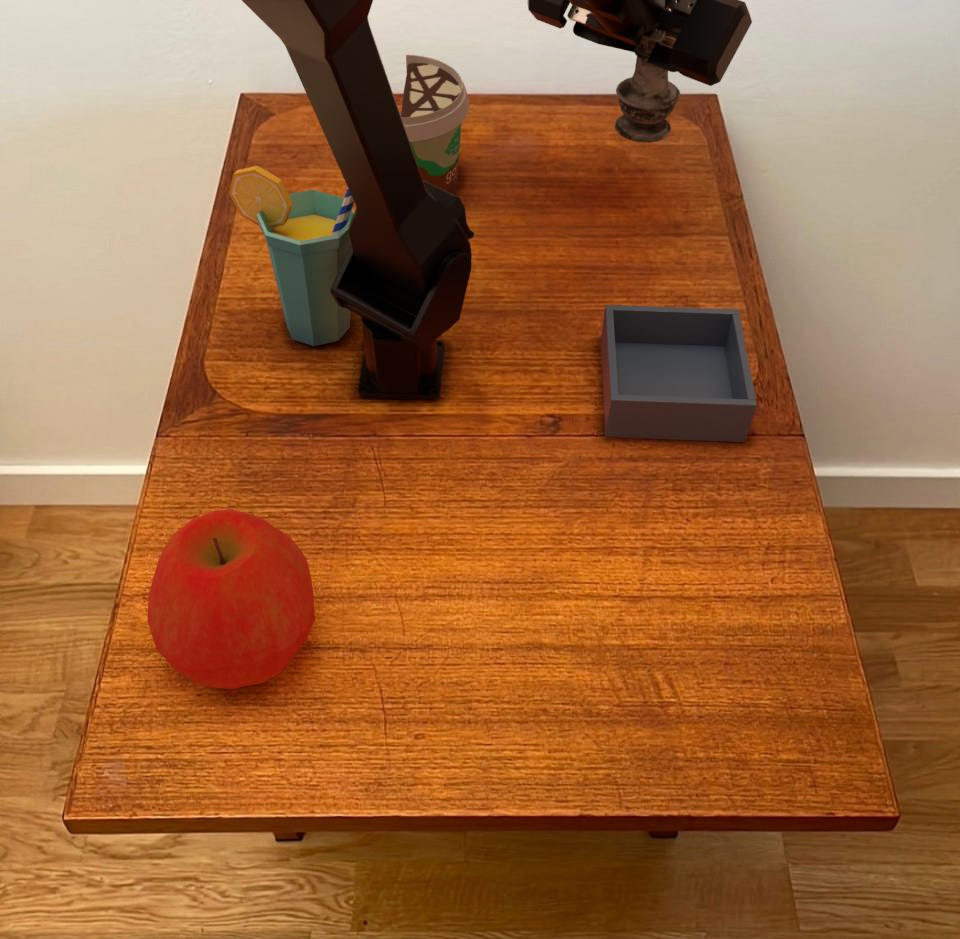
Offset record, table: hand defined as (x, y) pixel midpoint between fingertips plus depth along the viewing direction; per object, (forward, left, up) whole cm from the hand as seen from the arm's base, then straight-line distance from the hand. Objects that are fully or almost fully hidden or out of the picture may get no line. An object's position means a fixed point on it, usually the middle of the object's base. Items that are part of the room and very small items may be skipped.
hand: (661, 54), depth 89 cm
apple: (-54, +29, -13) cm, 63 cm away
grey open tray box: (-30, 0, -12) cm, 33 cm away
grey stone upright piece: (-1, +1, -7) cm, 7 cm away
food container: (-2, +20, -13) cm, 24 cm away
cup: (-24, +28, -12) cm, 39 cm away
